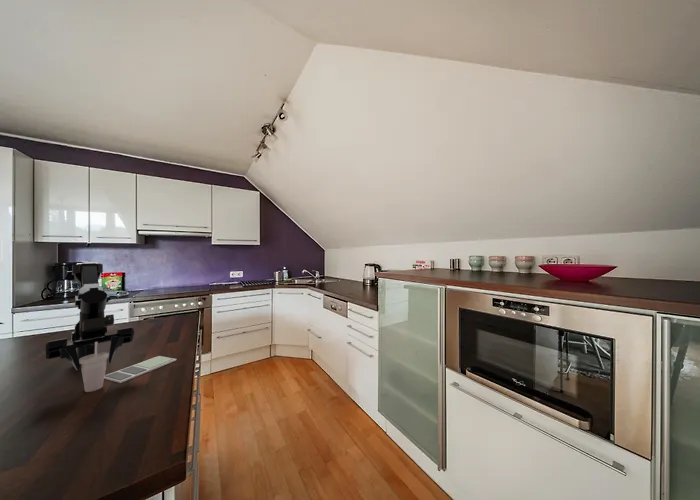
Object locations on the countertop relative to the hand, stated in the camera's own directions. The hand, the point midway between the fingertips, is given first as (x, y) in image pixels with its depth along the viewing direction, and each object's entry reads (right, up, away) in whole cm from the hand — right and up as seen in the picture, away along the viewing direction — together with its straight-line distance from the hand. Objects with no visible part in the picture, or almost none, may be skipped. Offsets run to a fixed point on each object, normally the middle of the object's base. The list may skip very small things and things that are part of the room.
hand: (94, 366), depth 72 cm
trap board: (+2, -7, +14) cm, 16 cm away
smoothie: (-1, -7, +1) cm, 7 cm away
